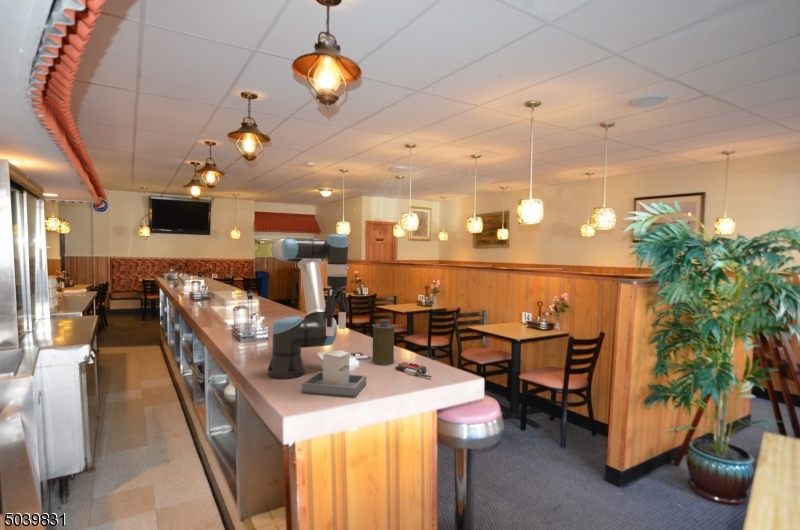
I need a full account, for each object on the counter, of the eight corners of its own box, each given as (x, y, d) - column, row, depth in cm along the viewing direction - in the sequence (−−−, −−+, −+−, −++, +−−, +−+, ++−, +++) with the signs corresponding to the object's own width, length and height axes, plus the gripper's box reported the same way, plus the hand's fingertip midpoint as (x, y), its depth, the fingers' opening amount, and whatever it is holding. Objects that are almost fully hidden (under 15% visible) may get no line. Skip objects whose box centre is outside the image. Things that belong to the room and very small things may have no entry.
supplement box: (337, 390, 149) (338, 356, 149) (321, 387, 153) (322, 353, 152) (349, 385, 156) (350, 352, 155) (333, 382, 159) (334, 349, 159)
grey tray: (302, 393, 148) (302, 383, 148) (317, 380, 163) (317, 371, 163) (355, 397, 145) (355, 388, 145) (366, 384, 159) (366, 375, 159)
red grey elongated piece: (391, 371, 179) (429, 381, 167) (391, 361, 179) (430, 370, 167) (403, 367, 186) (441, 376, 174) (403, 357, 186) (441, 366, 174)
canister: (393, 359, 198) (394, 318, 197) (394, 365, 188) (395, 322, 187) (371, 359, 198) (372, 318, 197) (370, 365, 187) (371, 321, 187)
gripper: (335, 278, 140) (334, 339, 140) (356, 274, 164) (355, 326, 165) (315, 277, 141) (313, 338, 142) (338, 273, 166) (337, 325, 166)
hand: (336, 332), depth 153 cm, fingers open, 13 cm apart
